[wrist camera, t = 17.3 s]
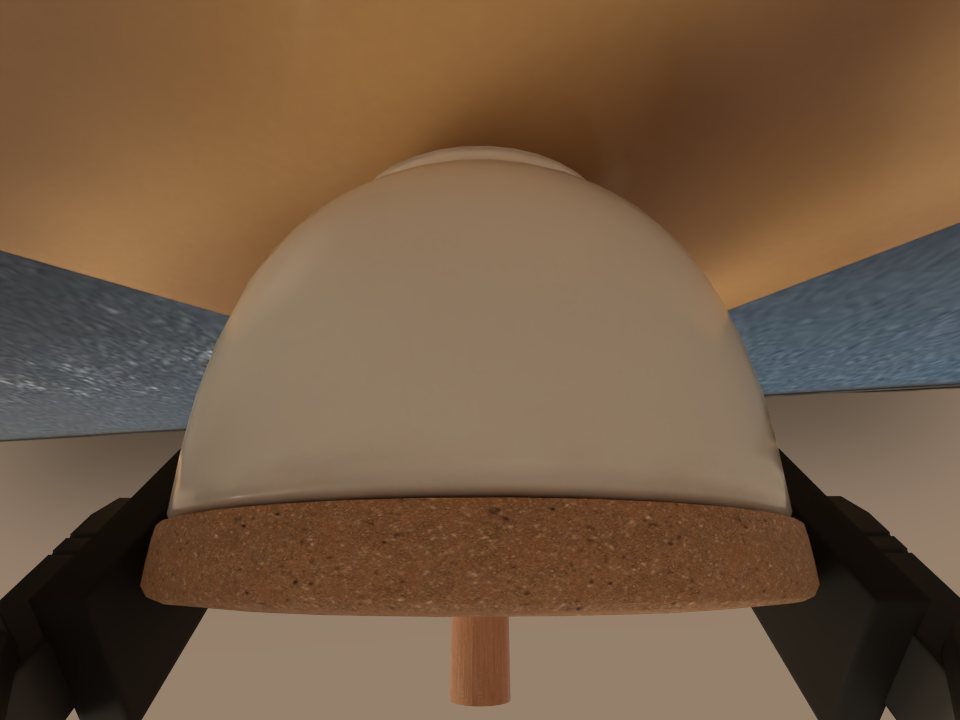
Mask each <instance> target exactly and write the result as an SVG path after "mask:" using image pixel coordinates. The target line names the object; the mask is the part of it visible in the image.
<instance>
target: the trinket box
mask: <svg viewBox="0 0 960 720" xmlns="http://www.w3.org/2000/svg"><path fill="white" fill-rule="evenodd" d="M167 516H168V519H165V520H162V521H161V522H159V523H158V524H157V525H156V526H155V529H154V532H153V535H152V538H151V541H150V545H149V549H148V553H147V557H146V561H145V565H144V570H143V575H142V579H141V584H140V587H141V588H142V590H143V592H144V594H145V596H146V597H147V598H150V599H152V600H155V601H157V602H160V603H162V604H167V605H179V606H191V607H202V608H214V609H225V610H236V611H247V612H266V613H288V614H312V615H353V616H423V617H452V624H451V680H450V701H451V702H453V703H455V704H459V705H465V706H493V705H501V704H505V703H507V702H509V701H510V660H509V616H587V615H624V614H658V613H680V612H696V611H711V610H724V609H736V608H747V607H758V606H769V605H779V604H790V603H796V602H803V601H805V600H807V599H809V598H812V597H814V596H815V594H816V592H817V590H818V587H819V585H820V584H819V579H818V575H817V570H816V565H815V561H814V557H813V553H812V549H811V545H810V541H809V537H808V534H807V531H806V528H805V525H804V523H803V522H801V521H799V520H797V519H795V518H793V517H791V516H792V508H791V503H790V499H789V494H788V490H787V485H786V481H785V476H784V472H783V467H782V463H781V458H780V454H779V449H778V445H777V442H776V438H775V435H774V431H773V428H772V424H771V420H770V417H769V413H768V410H767V406H766V402H765V399H764V395H763V392H762V389H761V386H760V384H759V381H758V379H757V376H756V374H755V371H754V368H753V366H752V363H751V361H750V358H749V356H748V353H747V351H746V348H745V345H744V343H743V340H742V338H741V336H740V334H739V332H738V330H737V328H736V326H735V324H734V323H733V321H732V319H731V317H730V315H729V313H728V311H727V309H726V307H725V306H724V304H723V302H722V300H721V298H720V296H719V294H718V293H717V291H716V289H715V288H714V286H713V285H712V283H711V282H710V280H709V279H708V277H707V276H706V274H705V273H704V272H703V270H702V269H701V268H700V267H699V265H698V264H697V263H696V262H695V260H694V259H693V258H692V257H691V255H690V254H689V253H688V252H687V250H686V249H685V248H684V247H683V245H682V244H681V243H680V242H679V241H678V240H676V239H675V238H674V237H673V236H672V235H671V234H670V233H669V232H667V231H666V230H665V229H664V228H663V227H662V226H661V225H659V224H658V223H657V222H656V221H654V220H653V219H652V218H651V217H650V216H648V215H647V214H646V213H645V212H644V211H642V210H641V209H640V208H639V207H638V206H636V205H634V204H632V203H631V202H629V201H627V200H625V199H624V198H622V197H620V196H618V195H617V194H615V193H613V192H611V191H609V190H607V189H605V188H603V187H601V186H599V185H597V184H595V183H593V182H590V181H587V180H585V179H584V178H583V177H582V176H581V175H579V174H578V173H577V172H575V171H574V170H572V169H570V168H568V167H567V166H565V165H563V164H561V163H560V162H557V161H555V160H552V159H549V158H547V157H544V156H542V155H539V154H535V153H531V152H527V151H523V150H518V149H514V148H505V147H495V146H462V147H455V148H447V149H440V150H436V151H432V152H428V153H425V154H421V155H417V156H414V157H412V158H410V159H407V160H405V161H403V162H400V163H398V164H396V165H394V166H392V167H391V168H389V169H388V170H386V171H384V172H383V173H381V174H380V175H378V176H377V177H376V178H375V179H374V180H373V181H370V182H368V183H366V184H363V185H361V186H359V187H357V188H354V189H352V190H350V191H348V192H346V193H344V194H342V195H340V196H339V197H337V198H336V199H334V200H332V201H331V202H329V203H328V204H326V205H325V206H323V207H321V208H320V209H318V210H317V211H315V212H314V213H313V214H312V215H311V216H309V217H308V218H307V219H306V220H304V221H303V222H302V223H301V224H300V225H298V226H297V227H296V228H295V229H294V230H293V231H292V232H290V233H289V234H288V235H287V236H286V237H285V238H284V239H283V240H282V241H281V242H280V243H279V244H278V245H277V246H276V247H275V248H274V249H273V251H272V252H271V253H270V254H269V256H268V257H267V258H266V260H265V261H264V262H263V263H262V265H261V266H260V267H259V268H258V270H257V271H256V272H255V273H254V275H253V276H252V277H251V278H250V280H249V282H248V284H247V285H246V287H245V289H244V291H243V293H242V295H241V297H240V298H239V300H238V302H237V304H236V306H235V308H234V310H233V312H232V314H231V316H230V317H229V319H228V321H227V323H226V325H225V327H224V329H223V331H222V333H221V335H220V337H219V338H218V340H217V342H216V345H215V347H214V350H213V352H212V355H211V358H210V360H209V363H208V365H207V368H206V371H205V373H204V376H203V378H202V381H201V384H200V386H199V389H198V391H197V394H196V397H195V401H194V404H193V408H192V411H191V415H190V419H189V422H188V426H187V430H186V433H185V437H184V440H183V444H182V448H181V451H180V456H179V460H178V465H177V470H176V474H175V479H174V483H173V488H172V492H171V497H170V501H169V506H168V511H167Z"/></svg>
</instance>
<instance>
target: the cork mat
mask: <svg viewBox="0 0 960 720" xmlns="http://www.w3.org/2000/svg"><path fill="white" fill-rule="evenodd" d="M462 146H495V147H505V148H514V149H518V150H523V151H527V152H531V153H535V154H539V155H542V156H544V157H547V158H549V159H552V160H555V161H557V162H560V163H561V164H563V165H565V166H567V167H568V168H570V169H572V170H574V171H575V172H577V173H578V174H579V175H581V176H582V177H583V178H584V179H585V180H587V181H590V182H593V183H595V184H597V185H599V186H601V187H603V188H605V189H607V190H609V191H611V192H613V193H615V194H617V195H618V196H620V197H622V198H624V199H625V200H627V201H629V202H631V203H632V204H634V205H636V206H638V207H639V208H640V209H641V210H642V211H644V212H645V213H646V214H647V215H648V216H650V217H651V218H652V219H653V220H654V221H656V222H657V223H658V224H659V225H661V226H662V227H663V228H664V229H665V230H666V231H667V232H669V233H670V234H671V235H672V236H673V237H674V238H675V239H676V240H678V241H679V242H680V243H681V244H682V245H683V247H684V248H685V249H686V250H687V252H688V253H689V254H690V255H691V257H692V258H693V259H694V260H695V262H696V263H697V264H698V265H699V267H700V268H701V269H702V270H703V272H704V273H705V274H706V276H707V277H708V279H709V280H710V282H711V283H712V285H713V286H714V288H715V289H716V291H717V293H718V294H719V296H720V298H721V300H722V302H723V304H724V306H725V307H726V309H727V310H730V309H732V308H735V307H738V306H740V305H743V304H745V303H748V302H751V301H753V300H756V299H759V298H761V297H764V296H767V295H769V294H772V293H775V292H777V291H780V290H782V289H785V288H788V287H790V286H793V285H796V284H798V283H801V282H804V281H806V280H809V279H812V278H814V277H817V276H820V275H822V274H825V273H827V272H830V271H833V270H835V269H838V268H841V267H843V266H846V265H849V264H851V263H854V262H857V261H859V260H862V259H864V258H867V257H870V256H872V255H875V254H878V253H880V252H883V251H886V250H888V249H891V248H894V247H896V246H899V245H902V244H904V243H907V242H909V241H912V240H915V239H917V238H920V237H923V236H925V235H928V234H931V233H933V232H936V231H939V230H941V229H944V228H946V227H949V226H952V225H954V224H957V223H960V0H0V250H1V251H5V252H8V253H12V254H15V255H19V256H22V257H26V258H29V259H33V260H36V261H40V262H43V263H47V264H50V265H54V266H57V267H61V268H64V269H67V270H71V271H74V272H78V273H81V274H85V275H88V276H92V277H95V278H99V279H102V280H106V281H109V282H113V283H116V284H120V285H123V286H127V287H130V288H134V289H137V290H141V291H144V292H148V293H151V294H155V295H158V296H162V297H165V298H169V299H172V300H176V301H179V302H183V303H186V304H190V305H193V306H197V307H200V308H204V309H207V310H211V311H214V312H218V313H221V314H225V315H228V316H231V314H232V312H233V310H234V308H235V306H236V304H237V302H238V300H239V298H240V297H241V295H242V293H243V291H244V289H245V287H246V285H247V284H248V282H249V280H250V278H251V277H252V276H253V275H254V273H255V272H256V271H257V270H258V268H259V267H260V266H261V265H262V263H263V262H264V261H265V260H266V258H267V257H268V256H269V254H270V253H271V252H272V251H273V249H274V248H275V247H276V246H277V245H278V244H279V243H280V242H281V241H282V240H283V239H284V238H285V237H286V236H287V235H288V234H289V233H290V232H292V231H293V230H294V229H295V228H296V227H297V226H298V225H300V224H301V223H302V222H303V221H304V220H306V219H307V218H308V217H309V216H311V215H312V214H313V213H314V212H315V211H317V210H318V209H320V208H321V207H323V206H325V205H326V204H328V203H329V202H331V201H332V200H334V199H336V198H337V197H339V196H340V195H342V194H344V193H346V192H348V191H350V190H352V189H354V188H357V187H359V186H361V185H363V184H366V183H368V182H370V181H373V180H374V179H375V178H376V177H377V176H378V175H380V174H381V173H383V172H384V171H386V170H388V169H389V168H391V167H392V166H394V165H396V164H398V163H400V162H403V161H405V160H407V159H410V158H412V157H414V156H417V155H421V154H425V153H428V152H432V151H436V150H440V149H447V148H455V147H462Z"/></svg>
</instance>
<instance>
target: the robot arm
mask: <svg viewBox="0 0 960 720" xmlns="http://www.w3.org/2000/svg"><path fill="white" fill-rule="evenodd" d="M778 449H779V448H778ZM180 451H181V449H180V450H179V451H178V452H177V453H176V454H175V455H174V456H173V457H172V458H171V459H170V460H169V461H168V462H167V463H166V464H165V465H164V466H163V467H162V468H161V469H160V470H159V471H158V472H157V473H156V474H155V475H154V476H153V477H152V478H151V479H150V480H149V481H148V482H147V483H146V484H145V485H144V486H143V487H142V488H141V489H140V490H139V491H138V492H137V493H136V494H135V495H134V496H133V497H132V498H118V499H117V500H115V501H113V502H112V503H110V504H108V505H107V506H105V507H103V508H102V509H100V510H98V511H97V512H95V513H93V514H91V515H90V516H89V517H88V518H87V519H86V520H85V521H84V522H83V523H82V524H81V525H80V526H79V527H78V528H77V529H75V530H74V531H73V532H72V533H71V534H70V535H71V536H70V538H66V539H65V540H64V541H63V542H62V543H61V544H60V545H59V546H57V547H56V548H55V549H54V550H53V554H52V555H48V556H47V557H46V558H45V559H43V560H42V561H41V562H40V563H39V564H38V565H37V566H36V567H35V568H34V569H33V570H32V571H31V572H30V573H29V574H28V575H26V576H25V577H24V578H23V579H22V580H21V581H20V582H19V583H18V584H17V585H16V586H15V587H14V588H13V589H12V590H10V591H9V592H8V593H7V594H6V595H5V596H4V597H3V598H2V599H1V600H0V720H66V718H67V717H68V716H69V714H70V713H71V711H72V710H73V709H74V708H75V710H76V712H77V715H78V717H79V719H80V720H142V718H143V716H144V715H145V713H146V712H147V710H148V708H149V707H150V705H151V703H152V701H153V700H154V698H155V696H156V695H157V693H158V691H159V690H160V688H161V686H162V685H163V683H164V681H165V680H166V678H167V676H168V674H169V673H170V671H171V669H172V668H173V666H174V664H175V663H176V661H177V659H178V658H179V656H180V654H181V653H182V651H183V649H184V647H185V646H186V644H187V642H188V641H189V639H190V637H191V636H192V634H193V632H194V631H195V629H196V627H197V626H198V624H199V622H200V621H201V619H202V617H203V615H204V614H205V612H206V610H207V609H208V608H202V607H191V606H179V605H167V604H162V603H160V602H157V601H155V600H152V599H150V598H147V597H146V596H145V594H144V592H143V590H142V588H141V587H140V584H141V579H142V575H143V570H144V565H145V561H146V557H147V553H148V549H149V545H150V541H151V538H152V535H153V532H154V529H155V526H156V525H157V524H158V523H159V522H161V521H162V520H165V519H168V516H167V511H168V506H169V501H170V497H171V492H172V488H173V483H174V479H175V474H176V470H177V465H178V460H179V456H180ZM779 454H780V458H781V463H782V467H783V472H784V476H785V481H786V485H787V490H788V494H789V499H790V503H791V508H792V516H791V517H793V518H795V519H797V520H799V521H801V522H803V523H804V525H805V528H806V531H807V534H808V537H809V541H810V545H811V549H812V553H813V557H814V561H815V565H816V570H817V575H818V579H819V584H820V585H819V587H818V590H817V592H816V594H815V596H814V597H812V598H809V599H807V600H805V601H803V602H796V603H790V604H779V605H769V606H758V607H751V608H752V609H753V611H754V613H755V614H756V616H757V618H758V619H759V621H760V623H761V624H762V626H763V628H764V630H765V631H766V633H767V635H768V636H769V638H770V640H771V641H772V643H773V645H774V646H775V648H776V650H777V651H778V653H779V655H780V657H781V658H782V660H783V662H784V663H785V665H786V667H787V668H788V670H789V672H790V673H791V675H792V677H793V678H794V680H795V682H796V683H797V685H798V687H799V689H800V690H801V692H802V694H803V695H804V697H805V699H806V700H807V702H808V704H809V705H810V707H811V709H812V710H813V712H814V714H815V715H816V717H817V719H818V720H880V718H881V716H882V714H883V711H884V709H885V707H886V706H887V708H888V709H889V710H890V712H891V713H892V714H893V716H894V717H895V719H896V720H960V597H959V596H957V595H956V594H955V593H954V592H953V591H952V590H951V589H950V588H949V587H948V586H947V585H946V584H945V583H944V582H943V581H941V580H940V579H939V578H938V577H937V576H936V575H935V574H934V573H933V572H932V571H931V570H930V569H929V568H928V567H926V566H925V565H924V564H923V563H922V562H921V561H920V560H919V559H918V558H917V557H916V556H915V555H914V554H913V553H908V551H907V548H906V547H905V546H904V545H903V544H902V543H901V542H900V541H899V540H897V539H896V538H895V537H894V536H890V532H889V531H888V530H887V529H886V528H885V527H884V526H882V525H881V524H880V523H879V522H878V521H877V520H876V519H875V518H874V517H873V516H872V515H871V514H870V513H868V512H867V511H865V510H863V509H862V508H860V507H858V506H857V505H855V504H853V503H851V502H850V501H848V500H846V499H845V498H843V497H841V496H826V495H825V494H824V493H823V492H822V491H821V490H820V489H819V488H818V487H817V486H816V485H815V484H814V483H813V482H812V481H811V480H810V479H809V478H808V477H807V476H806V475H805V474H804V473H803V472H802V471H801V470H800V469H799V468H798V467H797V466H796V465H795V464H794V463H793V462H792V461H791V460H790V459H789V458H788V457H787V456H786V455H785V454H784V453H783V452H782V451H781V450H780V449H779Z"/></svg>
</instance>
